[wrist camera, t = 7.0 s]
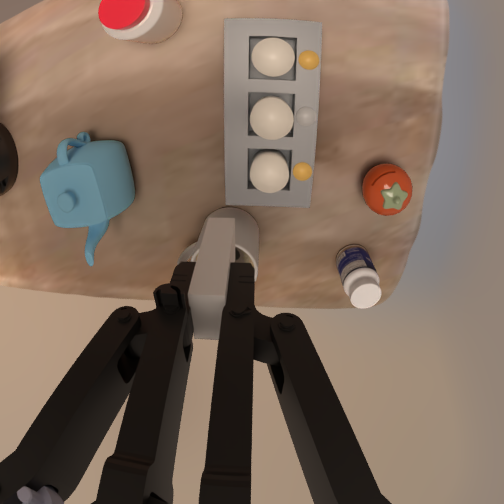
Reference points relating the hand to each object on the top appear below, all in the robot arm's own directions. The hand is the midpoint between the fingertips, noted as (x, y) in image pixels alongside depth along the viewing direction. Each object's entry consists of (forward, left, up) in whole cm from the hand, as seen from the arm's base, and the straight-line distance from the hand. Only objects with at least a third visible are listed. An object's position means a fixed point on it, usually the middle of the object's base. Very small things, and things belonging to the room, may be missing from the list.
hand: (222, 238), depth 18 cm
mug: (-3, -15, -27) cm, 31 cm away
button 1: (+3, -3, -23) cm, 24 cm away
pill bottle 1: (-12, +18, -27) cm, 35 cm away
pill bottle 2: (+18, -19, -27) cm, 37 cm away
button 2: (+3, +11, -23) cm, 26 cm away
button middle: (+3, +4, -22) cm, 22 cm away
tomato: (+20, -5, -27) cm, 33 cm away
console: (+3, +4, -27) cm, 27 cm away
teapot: (-22, -6, -27) cm, 35 cm away
